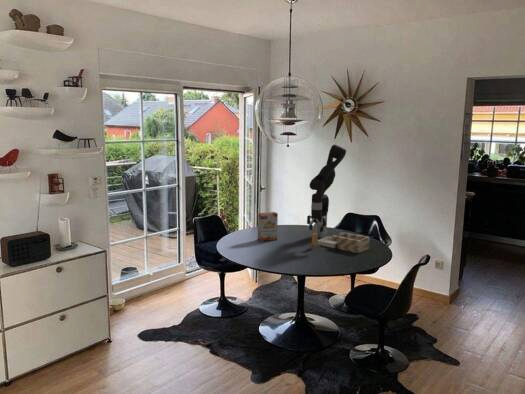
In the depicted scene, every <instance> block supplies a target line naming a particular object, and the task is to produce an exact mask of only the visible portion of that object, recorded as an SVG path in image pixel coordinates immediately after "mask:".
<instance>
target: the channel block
mask: <svg viewBox="0 0 525 394" xmlns="http://www.w3.org/2000/svg"><path fill="white" fill-rule="evenodd" d="M346 233H347V234H352V233H351V232H346ZM354 234H355V239H351V238H346V237H340V236H339V235H336V234H333V235H331V237H332V239H331V241H336V242H338V243H337V247H336V248H337V250H340V251H341V250H343V251H348V252H350V253H351V252H352V253H356V254H360V253H362V252H365V251H367V250H369V249H370V237H371V236H367V235H366V236H365V235H361V234H356V233H354Z"/></svg>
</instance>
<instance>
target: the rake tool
mask: <svg viewBox="0 0 525 394" xmlns="http://www.w3.org/2000/svg"><path fill="white" fill-rule="evenodd" d="M318 240H319V239H318V234H316V233H314V232H313V233H312V234H311V244H310V245H308V247H309V249H310V250H313V251H315V250H317V249H319V248H321V245H320V244H318Z"/></svg>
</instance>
